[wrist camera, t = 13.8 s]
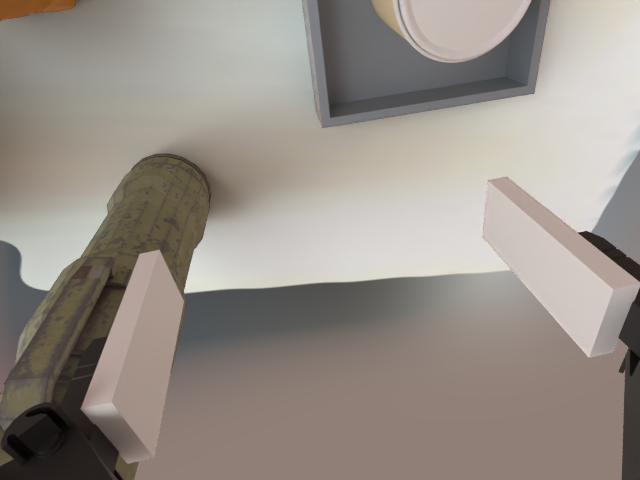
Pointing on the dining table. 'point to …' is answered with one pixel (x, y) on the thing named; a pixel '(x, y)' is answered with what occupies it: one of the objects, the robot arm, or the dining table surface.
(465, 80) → the tray
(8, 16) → the coffee package
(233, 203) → the dining table surface
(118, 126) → the dining table surface
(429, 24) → the coffee cup
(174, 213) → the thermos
